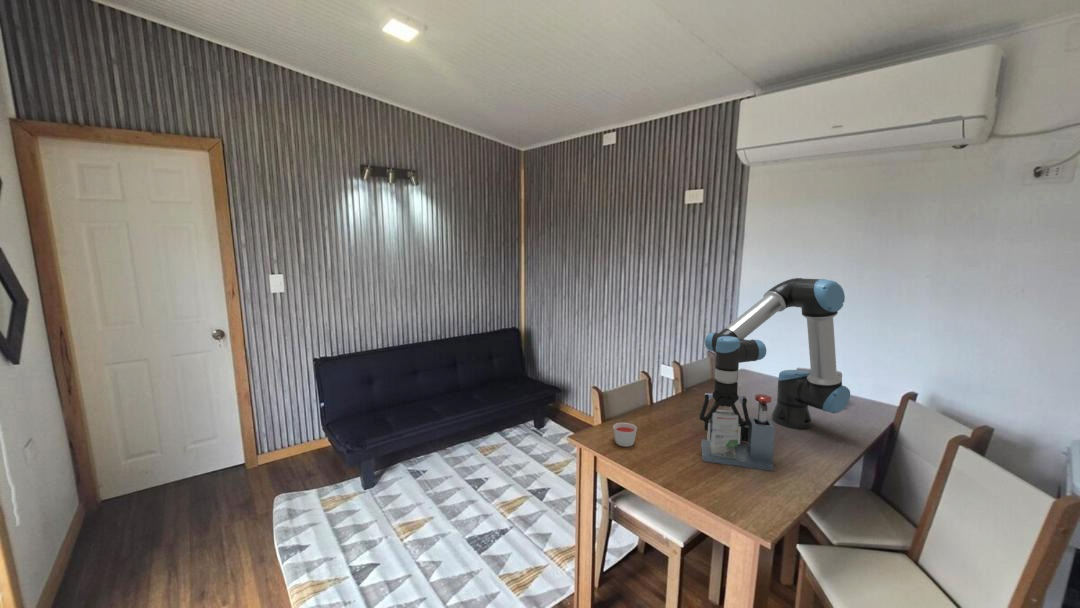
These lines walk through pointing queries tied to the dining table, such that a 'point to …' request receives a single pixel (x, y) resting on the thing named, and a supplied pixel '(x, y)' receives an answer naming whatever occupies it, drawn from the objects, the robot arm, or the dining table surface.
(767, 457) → the press
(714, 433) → the ink box
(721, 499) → the dining table surface
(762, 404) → the plunger
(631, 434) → the candle
